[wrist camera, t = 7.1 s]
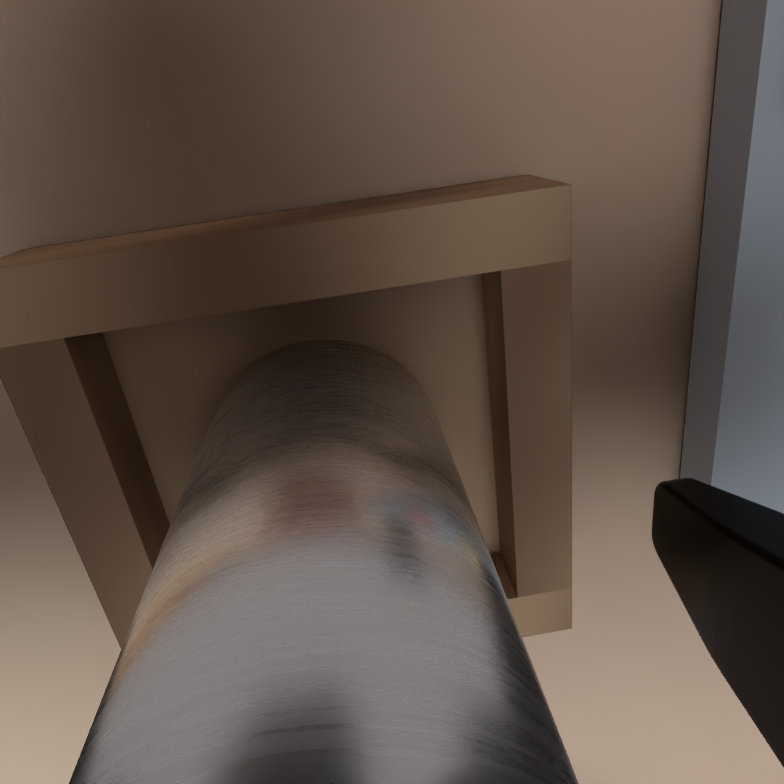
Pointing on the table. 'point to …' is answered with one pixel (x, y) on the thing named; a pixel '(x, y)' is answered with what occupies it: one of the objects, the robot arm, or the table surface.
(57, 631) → the table surface
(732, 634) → the robot arm
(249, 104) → the table surface
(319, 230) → the brown wooden tray
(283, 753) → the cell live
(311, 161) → the table surface
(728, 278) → the blue grey board
